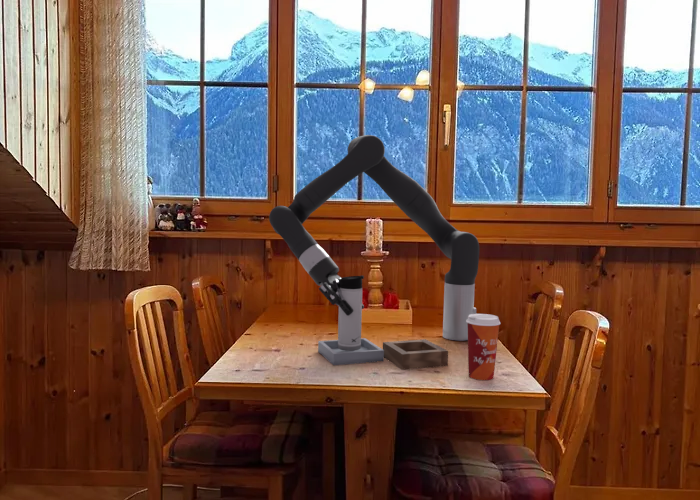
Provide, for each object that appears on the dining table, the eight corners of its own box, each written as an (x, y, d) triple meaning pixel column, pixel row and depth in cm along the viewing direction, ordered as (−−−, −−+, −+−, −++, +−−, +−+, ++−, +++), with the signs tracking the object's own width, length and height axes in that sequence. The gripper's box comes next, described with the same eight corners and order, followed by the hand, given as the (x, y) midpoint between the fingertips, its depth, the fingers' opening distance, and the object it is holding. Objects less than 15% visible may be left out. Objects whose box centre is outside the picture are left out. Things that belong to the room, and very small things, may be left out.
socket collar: (425, 353, 167) (425, 339, 167) (447, 366, 155) (448, 350, 155) (382, 356, 163) (382, 342, 163) (402, 369, 151) (402, 354, 150)
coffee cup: (478, 383, 141) (481, 321, 140) (457, 374, 148) (459, 314, 147) (505, 379, 145) (508, 318, 143) (483, 370, 152) (486, 312, 151)
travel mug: (359, 351, 159) (361, 277, 157) (335, 350, 160) (337, 276, 158) (363, 346, 165) (365, 274, 163) (340, 344, 166) (342, 273, 164)
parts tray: (364, 348, 171) (365, 338, 171) (383, 361, 158) (384, 350, 158) (318, 351, 167) (318, 341, 167) (333, 365, 154) (333, 353, 153)
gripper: (314, 258, 157) (354, 307, 153) (339, 253, 170) (376, 298, 166) (296, 276, 160) (335, 325, 156) (322, 270, 173) (358, 315, 169)
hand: (356, 311), depth 161 cm, fingers closed on travel mug, 6 cm apart
